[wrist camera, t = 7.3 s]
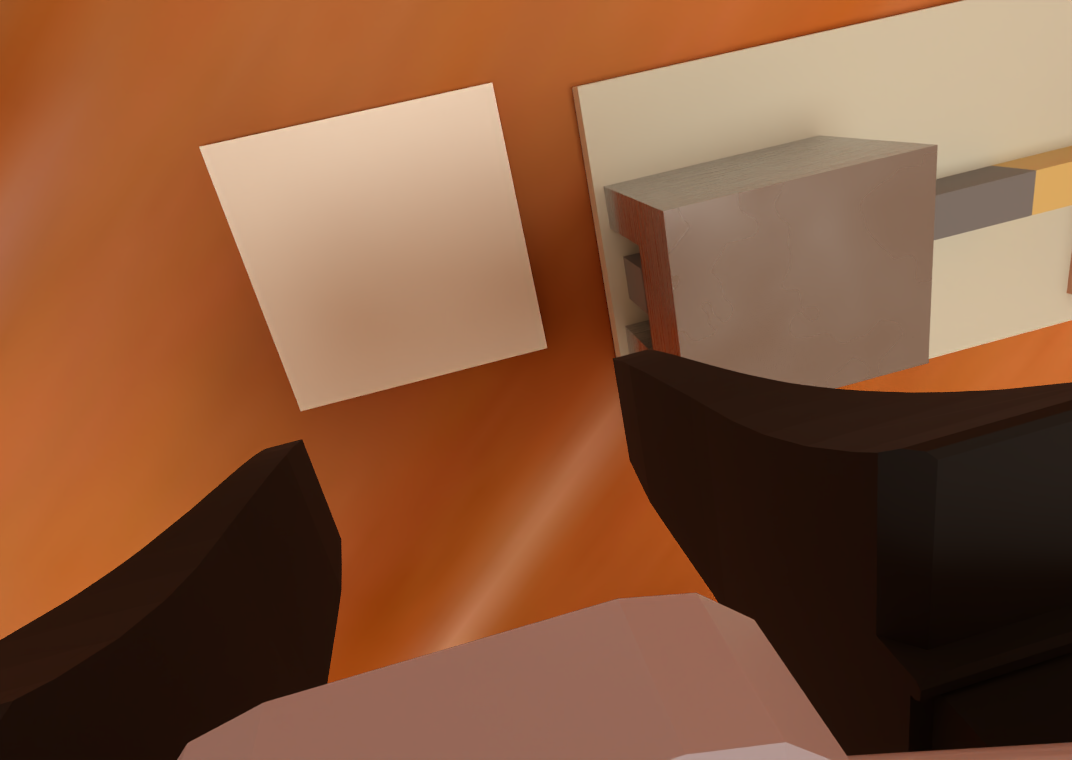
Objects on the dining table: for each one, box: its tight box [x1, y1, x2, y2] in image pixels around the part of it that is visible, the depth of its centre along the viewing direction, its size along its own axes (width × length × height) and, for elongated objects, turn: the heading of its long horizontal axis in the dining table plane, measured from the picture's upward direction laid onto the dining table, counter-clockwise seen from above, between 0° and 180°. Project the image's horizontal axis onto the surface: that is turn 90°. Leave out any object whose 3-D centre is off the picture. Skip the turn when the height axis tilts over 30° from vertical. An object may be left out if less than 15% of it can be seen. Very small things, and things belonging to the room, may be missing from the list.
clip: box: [604, 135, 938, 389], centre depth 17 cm, size 5×6×4 cm
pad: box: [199, 83, 547, 411], centre depth 18 cm, size 7×7×1 cm
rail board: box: [572, 0, 1072, 359], centre depth 18 cm, size 10×16×4 cm, turn 101°
